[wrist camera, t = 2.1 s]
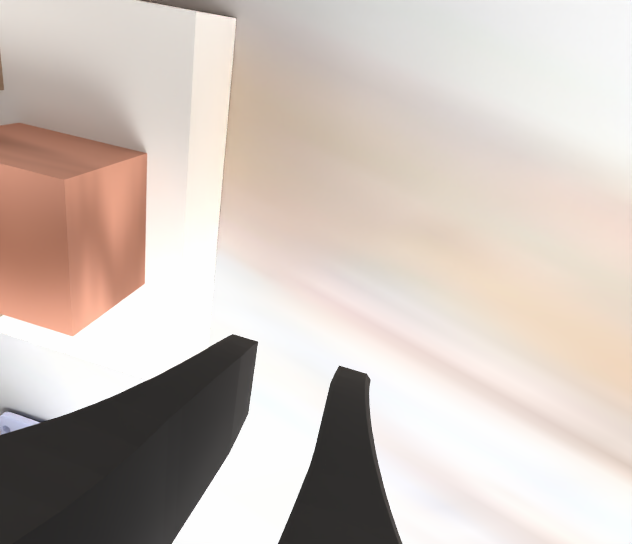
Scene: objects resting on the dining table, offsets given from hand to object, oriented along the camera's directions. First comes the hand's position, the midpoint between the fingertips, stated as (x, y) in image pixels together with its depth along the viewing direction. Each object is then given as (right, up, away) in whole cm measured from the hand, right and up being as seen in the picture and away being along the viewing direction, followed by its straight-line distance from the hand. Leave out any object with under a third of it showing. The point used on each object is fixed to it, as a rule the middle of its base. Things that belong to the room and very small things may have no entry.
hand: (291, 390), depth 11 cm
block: (-8, +5, +7) cm, 12 cm away
